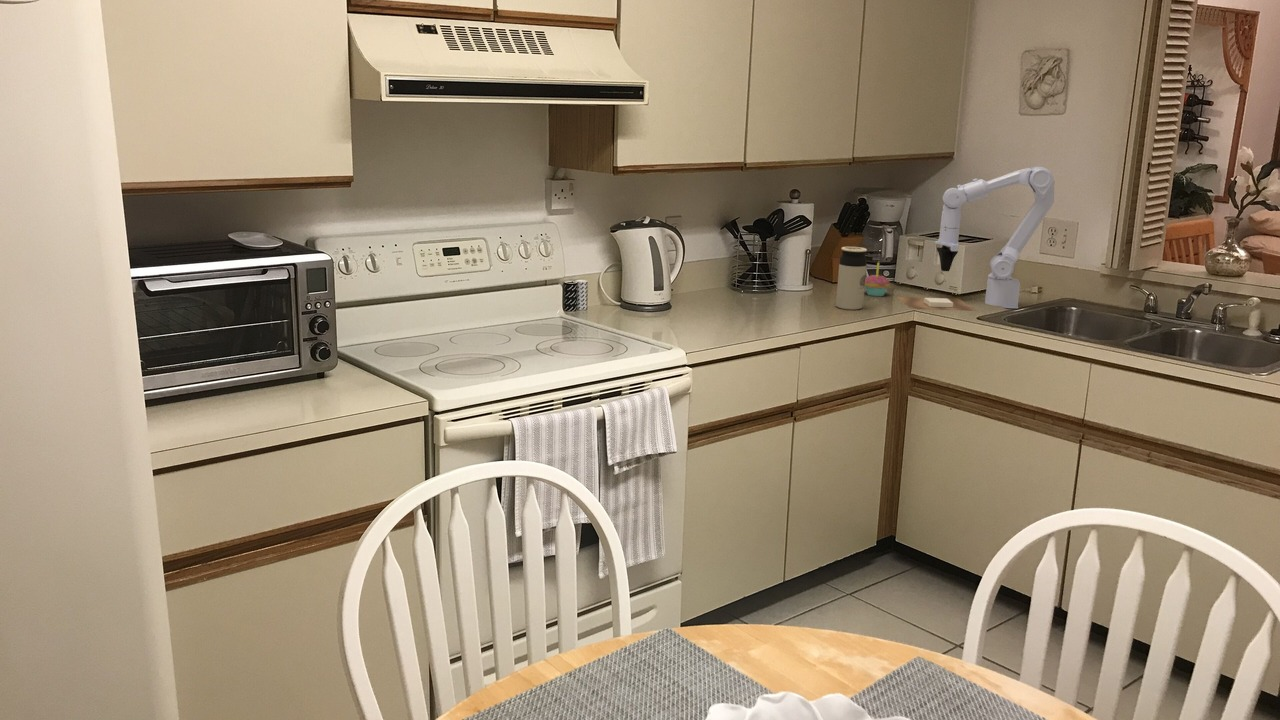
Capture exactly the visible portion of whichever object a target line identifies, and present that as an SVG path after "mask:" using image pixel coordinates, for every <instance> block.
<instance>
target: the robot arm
mask: <svg viewBox="0 0 1280 720" xmlns="http://www.w3.org/2000/svg"><path fill="white" fill-rule="evenodd" d="M1055 183H1056V182H1055V179H1054V176H1053V174H1052V172H1051V171H1050V170H1049V168H1045V167H1044V166H1041V165H1034V166H1032V167H1026V168H1022V169H1019V170H1014V171H1012V172H1009V173H1006V174H1004V175H1001V176H998V177H996V178H992V179H989V180H987V181H986V180H984V179H983V178H980V179H978V178H977V177H976V178H974V179H972V181H970V182H968V183H965V184H962V185H961V184H958V185H956V186H957V188H956V187H950V188H948V189H946V190H945V191H944V193H943V195H942V201H943V206H942V212H941V218H940V227H939V228H940V229H939V236H938V240H935V241H934V244H936V245H940V246H942V247H936V251H937V252H938V256H939V263H940V264H939V265H940V271H942V272H949V271H950V270H951V266H952V265H953V261H954V259H955V257H956V256H957V254H958V253H959V247H960V246H959V243H960V242H959V236H960V227H961V218H962V213H961V211H962V210H961V209H962V205H963V204H964V203H965V204H969V203H972V202H975V201H978V200H981V199H984V198H987V197H988V195H989V193H990V192H992V191H993V192H994V191H996V190H1000V189H1002V188H1006V187H1010V186H1013V185H1017V184H1018V185H1024V186H1028V185H1029V186H1030V188H1031V189H1032V193H1033V196H1034V202H1033V203H1032V205H1031V207H1030V208H1029V210H1028V211H1027V213H1026V214H1025V216H1024V217H1023V219H1022V220H1021V222H1020V223H1019V225H1018V226H1017V227H1016V229H1015V231H1014V232H1013V233H1012V235H1011V237H1010V238H1009V240H1008V241H1007V243H1006V244H1005V246H1003V247H1002V248H1001V249H1000V251H999V252H998V253H997V254H995V255H993V257H992V258H991V259H990V260H989V269H990V271H991V272H990V273H989V274H988V275H987V282H986V290H985V296H984V298H985V299H984V303H985V304H986V305H990V306H997V307H1002V308H1004V309H1019V299H1020V293H1021V292H1020V291H1021V283H1020V280H1019V278H1013V276H1012V274H1013V273H1014V270H1015V264H1016V262H1017V261H1018V259H1019V256H1020V254H1021V252H1022V251H1023V249H1024V248H1025V246H1026V245H1027V244H1028V242H1029V241H1030V240H1031V238H1032V236H1033V235H1034V233H1035V231H1036V230H1037V228H1038V227H1039V226H1040V224H1041V223H1042V221H1043V220H1044V218H1045V217H1046V216H1047V214H1048V213H1049V211H1050V209H1051V208H1052V206H1053V204H1054V202H1055Z"/></svg>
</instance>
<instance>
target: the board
mask: <svg viewBox="0 0 1280 720" xmlns="http://www.w3.org/2000/svg"><path fill="white" fill-rule="evenodd" d="M896 298H897V299H898V300H899V301H901V302H902V303H903V304H904V305H906V306H907V307H908V308H910V309H912V310H936V311H938V310H939V311H940V310H941V311H969V312H972V311H973V312H975V311H976V312H978V310H977V308H975V307H974V306H973V307H972V306H971V305H969V304H968V303H966V302H965V301H963V300H962V299H960V298H949V297H948V298H946V297H945V298H946V299H948V300H950V301H951V302H953V307H952V308H946V307H930V306H928V305H927V304H925V303H924V298H925V297H917V296H916V297H914V296H911V297H909V296H896Z"/></svg>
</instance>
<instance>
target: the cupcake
mask: <svg viewBox="0 0 1280 720" xmlns="http://www.w3.org/2000/svg"><path fill="white" fill-rule="evenodd" d="M875 271H876V272H875V273H876V274H871V275H867V277H866V276H865V287H864V288H865V290H866V294H867V295H868V296H872V297H883V296H885V294H886V291H887V290H888V288H890V287H891V281H890V280H889V279H888V278H887V277H886V276H883V275H880V274H879V273H880V261H879V260H878V262H877V263H876V270H875Z"/></svg>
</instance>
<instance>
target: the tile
mask: <svg viewBox="0 0 1280 720" xmlns="http://www.w3.org/2000/svg"><path fill="white" fill-rule="evenodd" d="M923 298H924V303H925V304H927V305H928V306H930V307H946V308H952V307H953V302H951V301H950V300H948V299H946V297H944V298H943V297H941V298H940V297H923Z"/></svg>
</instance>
